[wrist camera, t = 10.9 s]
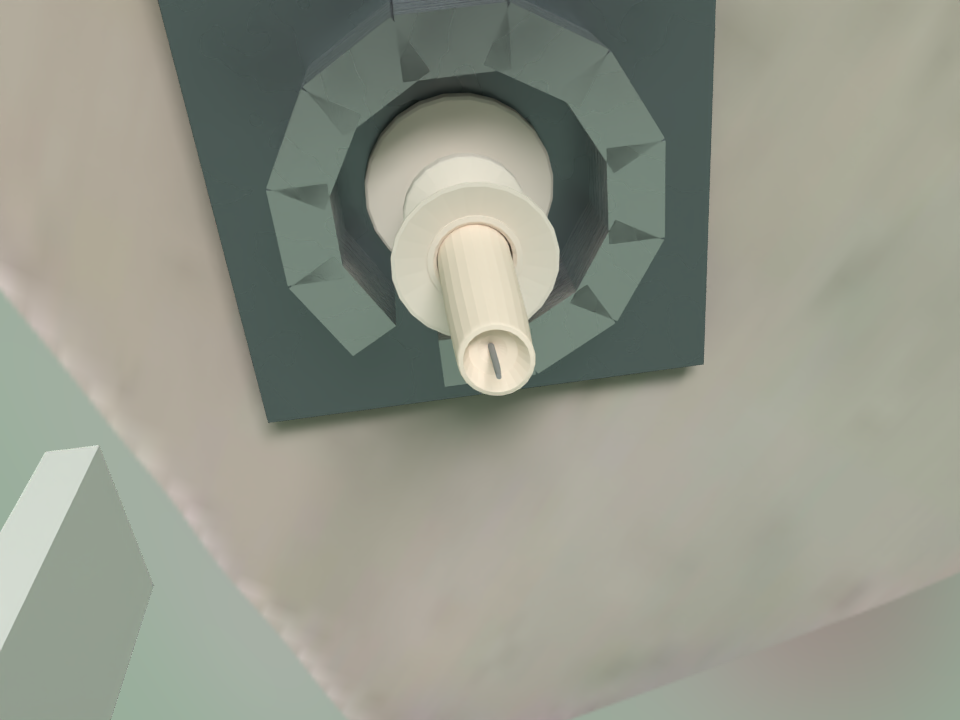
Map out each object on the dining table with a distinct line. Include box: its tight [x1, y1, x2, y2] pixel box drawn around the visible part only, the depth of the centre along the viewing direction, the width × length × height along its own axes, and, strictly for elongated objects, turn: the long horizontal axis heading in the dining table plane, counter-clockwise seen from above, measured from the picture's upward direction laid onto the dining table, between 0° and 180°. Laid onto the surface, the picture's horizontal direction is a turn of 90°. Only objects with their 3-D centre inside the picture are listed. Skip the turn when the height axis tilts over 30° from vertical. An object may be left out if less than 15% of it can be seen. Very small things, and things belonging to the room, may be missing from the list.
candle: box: [364, 93, 560, 396], centre depth 21 cm, size 5×5×10 cm
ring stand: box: [158, 0, 716, 423], centre depth 25 cm, size 14×14×4 cm
